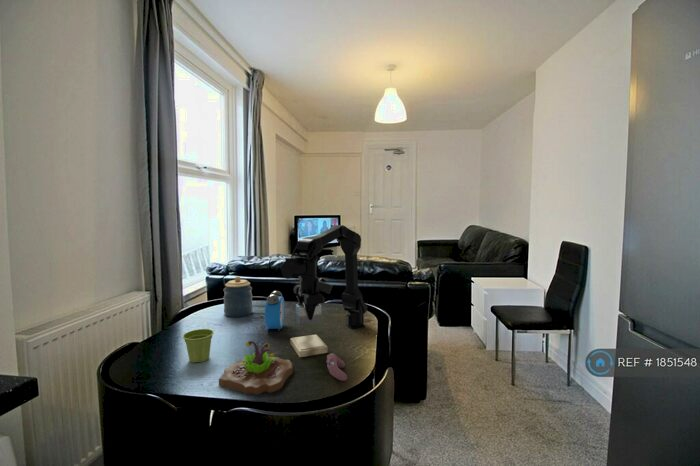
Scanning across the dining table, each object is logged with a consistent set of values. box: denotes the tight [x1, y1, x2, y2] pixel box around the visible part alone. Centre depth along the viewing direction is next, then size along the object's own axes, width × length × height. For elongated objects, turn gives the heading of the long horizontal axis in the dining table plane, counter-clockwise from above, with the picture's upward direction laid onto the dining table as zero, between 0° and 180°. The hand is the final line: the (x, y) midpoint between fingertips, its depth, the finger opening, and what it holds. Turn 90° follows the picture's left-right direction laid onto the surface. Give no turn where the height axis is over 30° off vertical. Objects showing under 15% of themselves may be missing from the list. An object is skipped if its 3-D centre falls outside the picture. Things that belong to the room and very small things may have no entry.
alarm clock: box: [264, 290, 286, 332], centre depth 147 cm, size 13×6×15 cm, turn 1°
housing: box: [295, 302, 322, 326], centre depth 126 cm, size 5×8×7 cm, turn 113°
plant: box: [218, 340, 294, 395], centre depth 106 cm, size 20×20×11 cm
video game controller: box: [326, 352, 348, 382], centre depth 107 cm, size 10×5×7 cm, turn 5°
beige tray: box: [289, 334, 329, 358], centre depth 127 cm, size 10×13×2 cm
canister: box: [223, 276, 253, 318], centre depth 167 cm, size 13×13×18 cm
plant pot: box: [182, 328, 215, 364], centre depth 117 cm, size 9×9×9 cm
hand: (308, 317), depth 126 cm, fingers closed on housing, 5 cm apart
